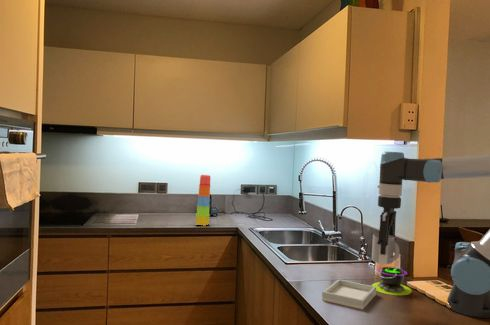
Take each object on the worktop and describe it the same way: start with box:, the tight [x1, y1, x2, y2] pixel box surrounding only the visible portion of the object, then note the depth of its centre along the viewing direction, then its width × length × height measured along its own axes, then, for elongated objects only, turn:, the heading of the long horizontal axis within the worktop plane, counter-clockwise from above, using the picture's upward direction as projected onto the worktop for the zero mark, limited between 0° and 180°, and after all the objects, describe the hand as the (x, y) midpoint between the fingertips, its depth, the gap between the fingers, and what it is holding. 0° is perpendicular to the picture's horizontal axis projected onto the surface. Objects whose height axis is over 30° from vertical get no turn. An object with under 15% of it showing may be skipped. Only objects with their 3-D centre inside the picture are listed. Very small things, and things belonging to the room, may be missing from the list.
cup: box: [371, 233, 401, 265], centre depth 143 cm, size 7×10×9 cm
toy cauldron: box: [371, 263, 412, 296], centre depth 162 cm, size 15×15×11 cm
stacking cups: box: [195, 174, 211, 225], centre depth 281 cm, size 10×10×35 cm
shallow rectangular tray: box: [321, 278, 377, 310], centre depth 151 cm, size 15×18×3 cm
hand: (385, 260), depth 144 cm, fingers closed on cup, 7 cm apart
